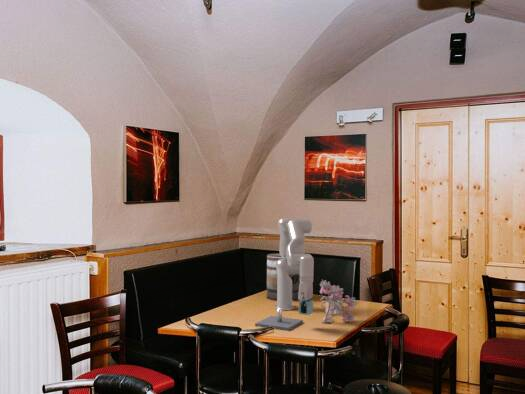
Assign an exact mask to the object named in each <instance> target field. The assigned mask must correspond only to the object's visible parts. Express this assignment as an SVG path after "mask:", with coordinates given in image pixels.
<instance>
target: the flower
mask: <svg viewBox="0 0 525 394" xmlns="http://www.w3.org/2000/svg"><path fill="white" fill-rule="evenodd" d="M319 286H320V290H319V293H320V295H323V296H321V298H320V299H319V301H321V300H325V299H327V301H326V300H325V301H326V302H329V307H328V311H327V314H326V313H325V314H326V315H324V316H323V317H322V321H321V324H325V323H330V324H332V323H333V321H334V317H335V316H342V319H341V320H342V321H343V322H347V321H348V322H349V323H352V322H353V321H355V317H356V316H355V315H354V313H351V310H350V308H352V309H353V308H355V307H356V306H357V299H356V297H351V296H349V295H347V294H346V295H344V297H345V298H344V299H343V294H344V288H343V287H342V288H341V287H340V285H332V284H331V282H330V281H327V280H326V279H325V280H323V279H321V281H320V283H319ZM326 295H328V296H326ZM329 296H330V297H331V299H330V297H329ZM333 300H334V301H335V302H334V301H333ZM326 302H325V303H326ZM331 302H332V303H333V305H334V306H333V308H330V304H331ZM343 304H346V306H345V305H343ZM336 307H337V311H338V312H337V313H336V310H335V309H336ZM329 310H332V311H331V313H330V314H328V313H329ZM343 310H345V313H346V314H345V313H344V312H343ZM333 311H334V313H335V315H331V314H332V312H333Z"/></svg>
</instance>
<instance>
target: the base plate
mask: <svg viewBox="0 0 525 394" xmlns="http://www.w3.org/2000/svg"><path fill="white" fill-rule="evenodd" d="M303 323H304V321H303V319H298V318H289V317H283V316H282V322H277V315H276V316H275V315H270V316H268V317H266V318H263V319H261V320H259V321H258V322H255V324H254V325H255V327H258V326H260V327H259V328H265V327H269V326H271V327H274V329H273V330H281V331H287V332H289V331H291V330H293V329H294V328H296V327H298V326H299V325H301V324H303Z"/></svg>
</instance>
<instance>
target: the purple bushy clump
mask: <svg viewBox="0 0 525 394" xmlns="http://www.w3.org/2000/svg"><path fill="white" fill-rule="evenodd" d="M330 296H331V295H329V296H328V297H330ZM330 299H331V297H330ZM326 301H327V299H324V300H322V301H321V302H320V307H321V308H322V309H323V310H325V314H327V311H328V307H329V302H326ZM333 301H334V300H333ZM334 302H335V301H334ZM323 303H325V307H324V306H323ZM333 306H334V305H333V303H332V302H331V304H330V308H333ZM335 310H336V313H337V312H338V311H337V307H336V309H335ZM331 311H332V310H329V313H328V315H329V314H330V313H331ZM333 315H335V313H334V311H333V312H332V314H331V315H330V316H333ZM335 316H336V315H335Z"/></svg>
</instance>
